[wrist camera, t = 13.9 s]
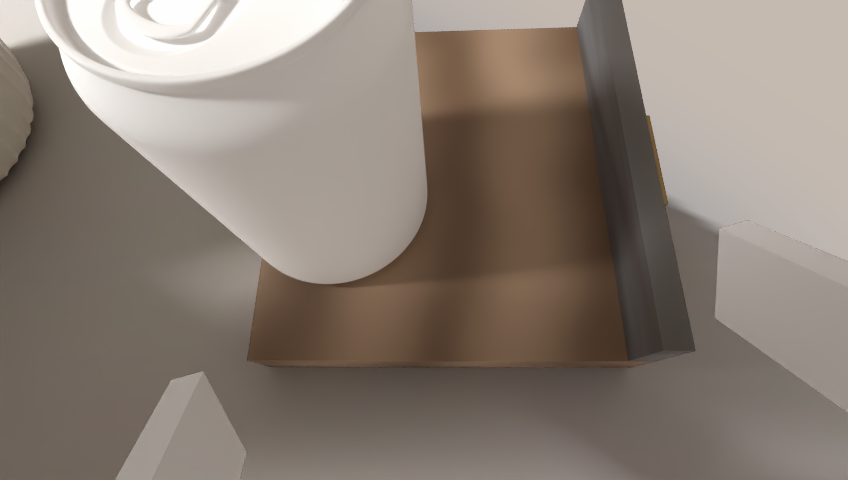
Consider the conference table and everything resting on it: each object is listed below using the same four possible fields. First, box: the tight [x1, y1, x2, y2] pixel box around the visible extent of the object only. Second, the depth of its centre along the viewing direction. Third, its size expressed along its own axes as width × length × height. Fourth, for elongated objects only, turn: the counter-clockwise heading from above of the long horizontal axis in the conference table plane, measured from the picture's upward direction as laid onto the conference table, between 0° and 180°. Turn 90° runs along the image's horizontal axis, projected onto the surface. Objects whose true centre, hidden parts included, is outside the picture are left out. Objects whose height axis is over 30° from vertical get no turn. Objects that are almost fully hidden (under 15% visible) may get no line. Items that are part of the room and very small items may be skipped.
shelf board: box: [247, 0, 695, 367], centre depth 20 cm, size 16×17×6 cm
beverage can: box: [35, 0, 427, 284], centre depth 15 cm, size 8×8×12 cm
